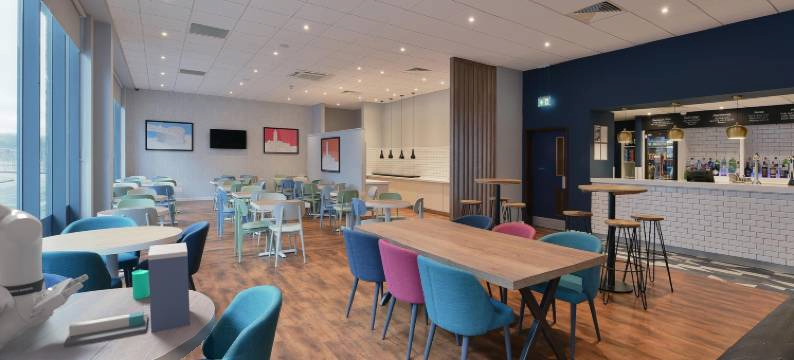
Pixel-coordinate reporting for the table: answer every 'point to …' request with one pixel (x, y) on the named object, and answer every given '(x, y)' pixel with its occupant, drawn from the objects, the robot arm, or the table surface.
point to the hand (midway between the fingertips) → (84, 280)
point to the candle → (140, 284)
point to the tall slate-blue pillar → (168, 286)
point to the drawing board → (106, 334)
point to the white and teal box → (106, 323)
